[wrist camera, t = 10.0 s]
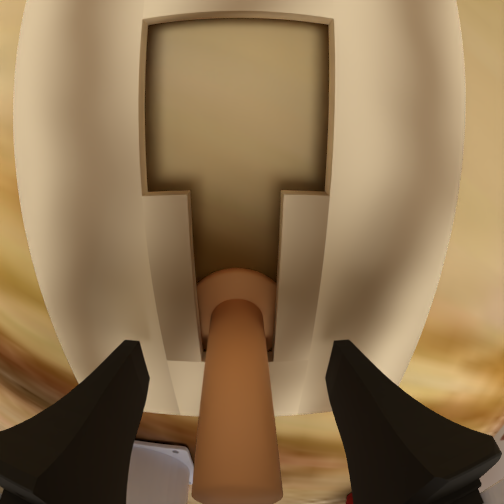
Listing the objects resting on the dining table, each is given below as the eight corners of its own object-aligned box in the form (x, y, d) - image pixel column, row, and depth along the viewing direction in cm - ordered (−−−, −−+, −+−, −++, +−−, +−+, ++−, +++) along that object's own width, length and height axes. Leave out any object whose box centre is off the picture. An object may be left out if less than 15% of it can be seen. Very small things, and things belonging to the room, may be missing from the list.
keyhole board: (98, 380, 16) (88, 402, 14) (51, -3, 7) (30, -14, 5) (380, 379, 17) (390, 401, 15) (431, -2, 8) (453, -13, 6)
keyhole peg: (201, 355, 15) (183, 516, 7) (174, 277, 13) (112, 460, 5) (292, 342, 15) (326, 506, 7) (280, 259, 13) (331, 449, 5)
